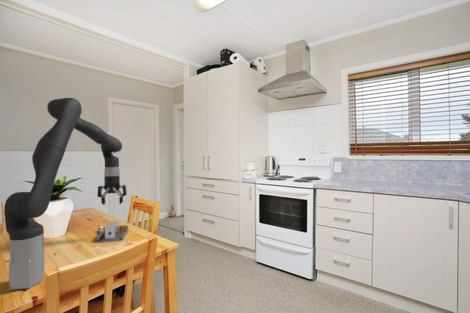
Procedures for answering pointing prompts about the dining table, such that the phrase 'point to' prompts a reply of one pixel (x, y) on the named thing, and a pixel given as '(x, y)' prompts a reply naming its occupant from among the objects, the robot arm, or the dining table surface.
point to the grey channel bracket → (119, 238)
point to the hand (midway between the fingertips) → (112, 204)
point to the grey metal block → (112, 230)
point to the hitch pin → (100, 229)
